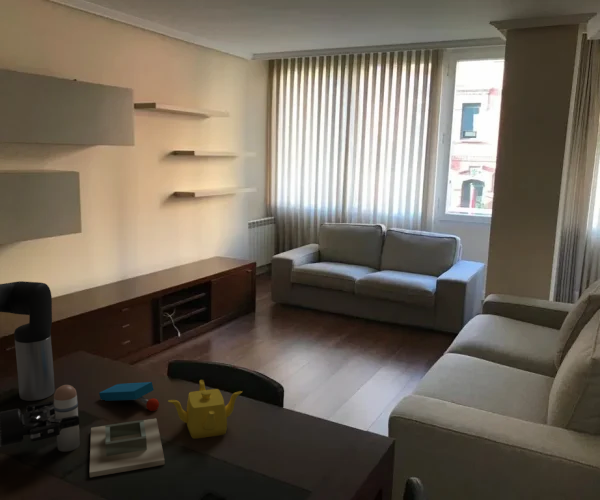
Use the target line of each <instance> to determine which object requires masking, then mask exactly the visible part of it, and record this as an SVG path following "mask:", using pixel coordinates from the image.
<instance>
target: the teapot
mask: <svg viewBox="0 0 600 500" xmlns="http://www.w3.org/2000/svg"><path fill="white" fill-rule="evenodd" d="M198 382H199V383H198V384H199V389H198V390H195V391H190V392H189V393H188V397H187V402H186V403H187V404H186V410H184V409H183V406H182V405H181V402H180V401H179V400H176V399H169V400H167V403H170V404H172V405H174V407H175V409H176V411H177V414H178V418H179V419H180V420H181V421H182V422H183V423H185V424H186V426H187V430H188V432H189V435H190V437H191V438H192V439H194V440H195V439H205V438H210V437H211V438H212V437H217V436H222V435H225V434H226V433H227V431H228V417H230V416H231V415H232V413H233V411H234V408H235V403H236V400H237V397H238V396H239V395H241V394H242V393H243V390H242V391H241V390H239V391H236V392H233V393H232V395H231V396H230V398H229V399H230V400H229V401H228V403H227V404H225V399H224V397H223V394H222V392H221V391H220V389H219V388H213V389H206V384H205V380H204V379H200V380H199V381H198Z"/></svg>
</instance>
